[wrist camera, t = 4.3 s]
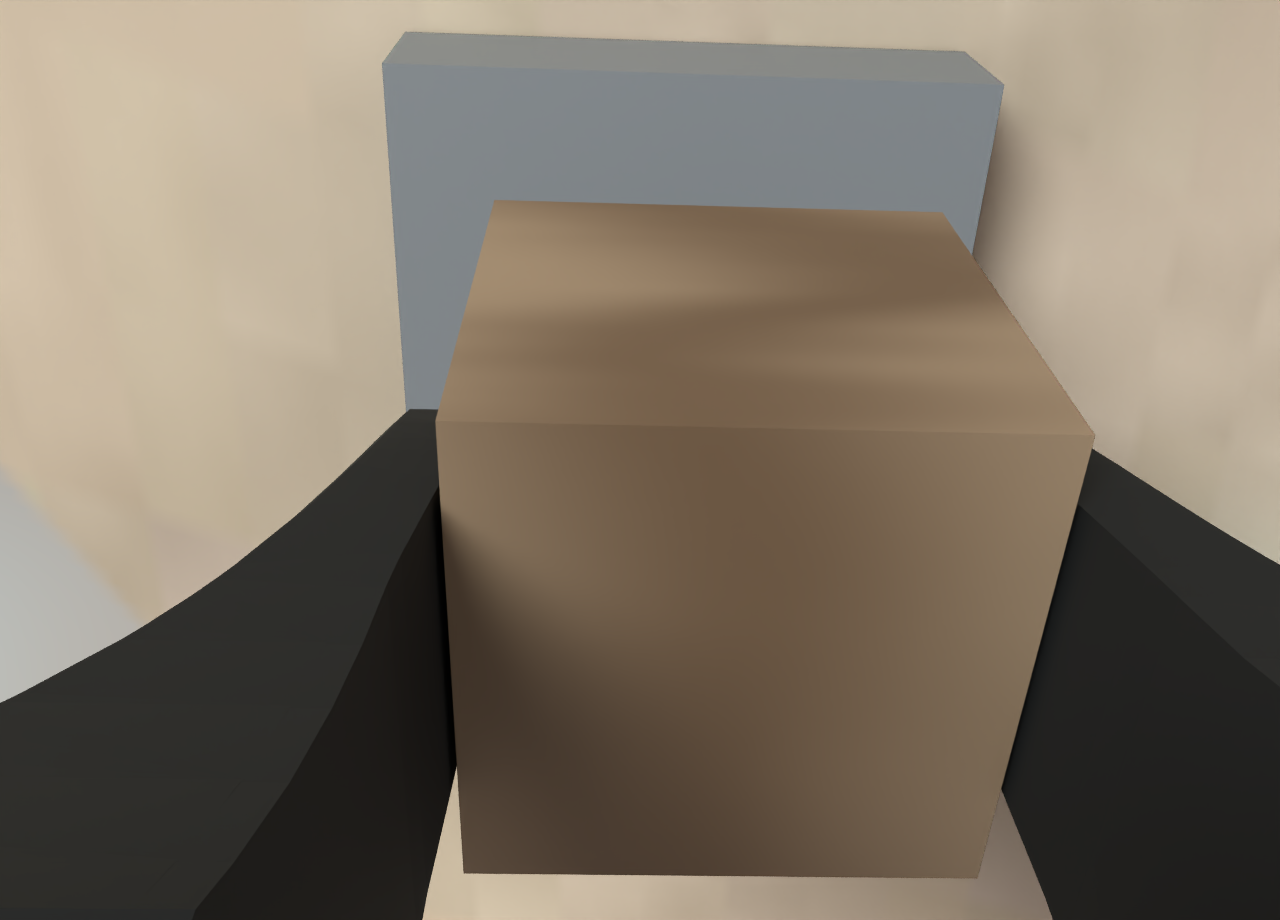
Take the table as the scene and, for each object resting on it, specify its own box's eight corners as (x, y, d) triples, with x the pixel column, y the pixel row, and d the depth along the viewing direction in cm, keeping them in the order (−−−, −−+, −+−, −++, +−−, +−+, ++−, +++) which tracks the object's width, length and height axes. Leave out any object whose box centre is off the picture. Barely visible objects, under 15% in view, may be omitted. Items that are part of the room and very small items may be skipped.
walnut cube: (942, 211, 12) (1095, 435, 8) (880, 572, 14) (976, 878, 10) (494, 199, 12) (434, 421, 8) (505, 565, 14) (463, 873, 10)
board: (965, 51, 17) (1005, 85, 15) (856, 688, 23) (876, 766, 21) (405, 31, 17) (380, 64, 15) (443, 682, 23) (429, 760, 21)
